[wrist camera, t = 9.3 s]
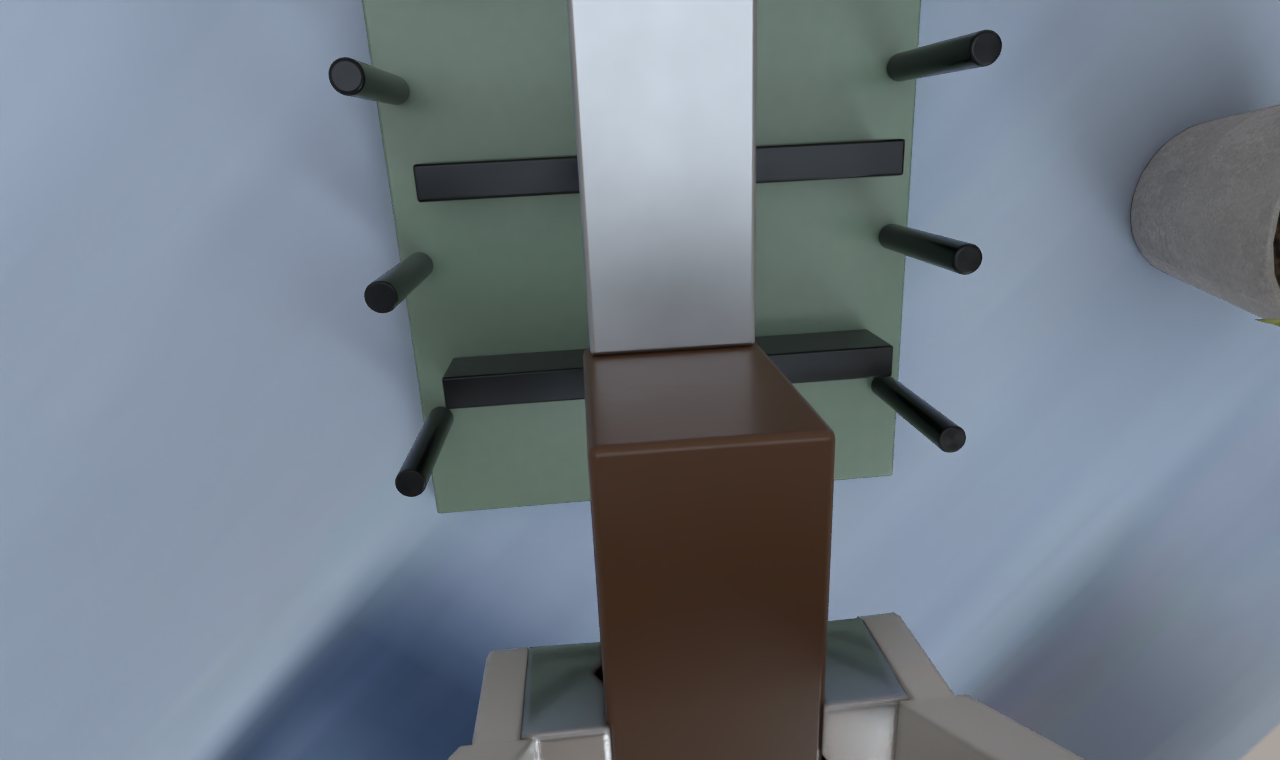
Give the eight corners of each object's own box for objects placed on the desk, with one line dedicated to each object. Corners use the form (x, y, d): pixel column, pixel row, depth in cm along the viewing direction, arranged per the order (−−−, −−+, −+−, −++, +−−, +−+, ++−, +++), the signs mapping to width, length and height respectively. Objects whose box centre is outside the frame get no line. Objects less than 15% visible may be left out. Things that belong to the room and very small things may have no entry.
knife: (750, 779, 13) (814, 1007, 10) (613, 793, 13) (628, 1030, 9) (757, -514, 8) (904, -1030, 4) (522, -516, 8) (479, -1054, 4)
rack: (884, 466, 27) (962, 549, 22) (440, 503, 26) (406, 599, 21) (925, -264, 21) (1055, -413, 15) (330, -256, 19) (235, -412, 14)
